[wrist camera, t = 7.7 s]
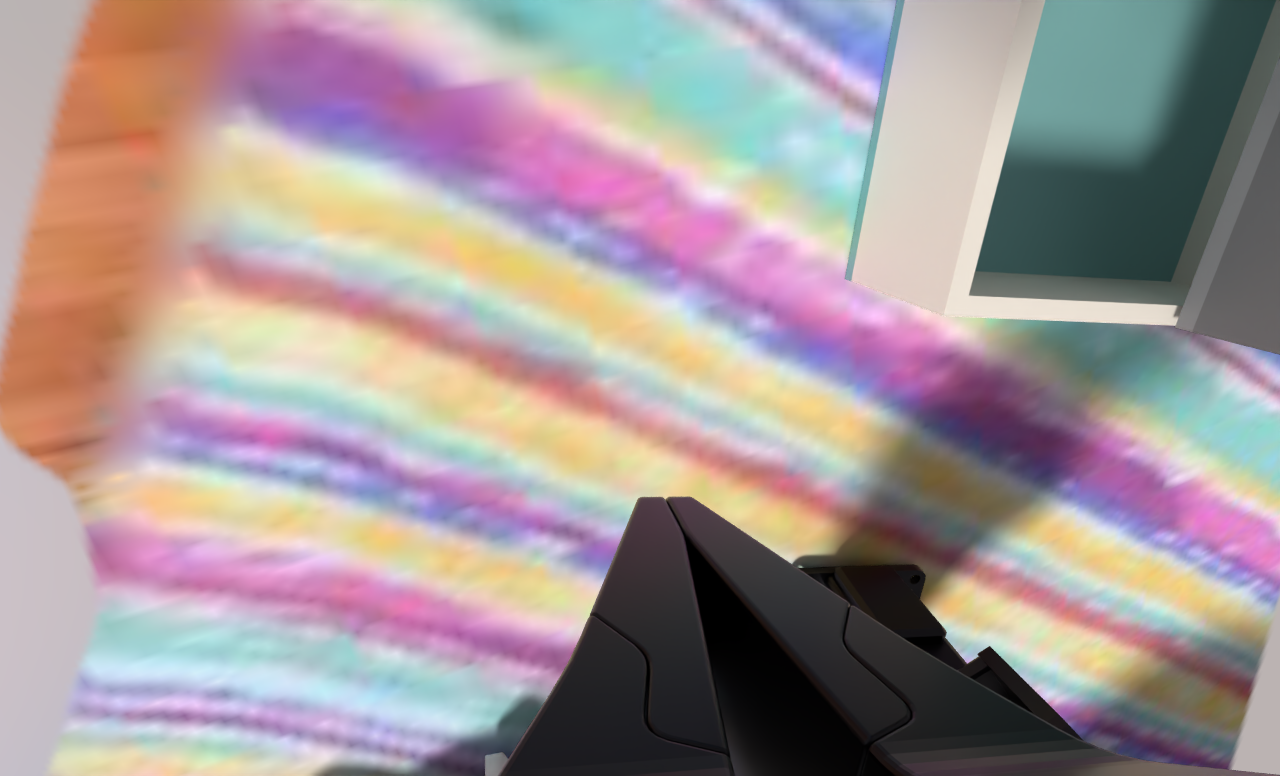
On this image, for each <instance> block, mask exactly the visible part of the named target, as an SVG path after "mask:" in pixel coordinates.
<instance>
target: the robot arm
mask: <svg viewBox="0 0 1280 776" xmlns="http://www.w3.org/2000/svg"><path fill="white" fill-rule="evenodd" d="M912 576H914V577H912ZM911 577H912V578H911ZM924 582H925V574H924V572H923V571H922V570H921V569H920V568H919V567H918V566H917V565H880V566H844V567H816V568H797V567H795V566H794V565H792V564H791V563H789V562H788V561H786V560H785V559H783V558H782V557H780V556H779V555H777V554H776V553H774V552H773V551H771V550H770V549H768V548H767V547H765V546H764V545H762V544H761V543H759V542H758V541H756V540H755V539H753V538H752V537H750V536H749V535H747V534H746V533H744V532H743V531H741V530H740V529H739V528H737V527H736V526H734V525H733V524H731V523H730V522H728V521H727V520H725V519H724V518H722V517H721V516H719V515H718V514H716V513H715V512H713V511H712V510H710V509H709V508H707V507H706V506H704V505H703V504H701V503H700V502H698V501H697V500H695V499H694V498H692V497H668V498H667V499H666V500H665V499H664V498H663V497H640V498H639V499H638V500H637V502H636V505H635V507H634V510H633V512H632V514H631V517H630V519H629V522H628V524H627V527H626V529H625V531H624V534H623V536H622V539H621V541H620V543H619V546H618V548H617V551H616V553H615V556H614V558H613V560H612V563H611V565H610V568H609V570H608V572H607V575H606V577H605V580H604V582H603V585H602V587H601V589H600V592H599V594H598V597H597V599H596V601H595V604H594V606H593V609H592V611H591V614H590V617H589V618H588V620H587V622H586V625H585V627H584V630H583V632H582V634H581V637H580V639H579V641H578V643H577V645H576V647H575V649H574V651H573V654H572V656H571V658H570V660H569V662H568V664H567V666H566V667H565V669H564V671H563V672H562V674H561V676H560V678H559V679H558V681H557V683H556V684H555V686H554V688H553V690H552V691H551V693H550V695H549V696H548V698H547V699H546V701H545V702H544V704H543V705H542V707H541V709H540V710H539V712H538V713H537V715H536V716H535V718H534V720H533V721H532V723H531V724H530V726H529V727H528V729H527V731H526V732H525V734H524V735H523V737H522V738H521V740H520V741H519V743H518V745H517V746H516V748H515V749H514V751H513V752H512V754H511V756H510V757H509V759H508V760H507V762H506V763H505V765H504V767H503V768H502V770H501V771H500V773H499V774H498V776H1280V775H1274V774H1265V773H1255V772H1246V771H1236V770H1227V769H1217V768H1208V767H1198V766H1188V765H1179V764H1169V763H1160V762H1152V761H1145V760H1140V759H1136V758H1131V757H1127V756H1123V755H1119V754H1116V753H1113V752H1110V751H1107V750H1104V749H1101V748H1098V747H1096V746H1094V745H1091V744H1089V743H1087V742H1084V741H1083V740H1082V739H1081V738H1080V736H1079V735H1078V734H1077V733H1076V732H1075V731H1074V730H1073V729H1072V728H1071V727H1070V726H1069V725H1068V724H1067V723H1066V722H1065V720H1064V719H1063V718H1062V717H1061V716H1060V715H1059V714H1058V713H1057V712H1056V711H1055V710H1054V709H1053V708H1052V707H1051V706H1050V705H1049V704H1048V703H1047V702H1046V701H1045V700H1044V699H1043V698H1042V697H1041V696H1040V695H1039V694H1038V693H1036V692H1035V691H1034V690H1033V689H1032V688H1031V687H1030V686H1029V685H1028V684H1027V683H1026V682H1025V681H1024V680H1023V679H1022V678H1021V677H1020V676H1019V675H1018V674H1017V673H1016V672H1015V671H1014V670H1013V669H1012V668H1011V667H1010V666H1009V665H1008V664H1007V663H1006V662H1005V661H1004V660H1003V659H1002V658H1001V657H1000V656H999V655H998V654H997V653H996V652H995V651H994V650H993V649H992V648H991V647H990V646H989V647H987V648H986V649H984V650H983V651H981V652H980V653H978V656H979V657H977V658H976V659H974V660H972V661H971V662H969V663H968V664H967V663H966V662H965V661H964V659H963V658H962V657H961V656H960V655H959V653H958V652H957V651H956V650H955V649H954V647H953V646H952V645H951V644H950V643H949V641H948V640H947V639H946V638H945V636H946V633H947V632H946V630H945V629H944V628H943V626H942V625H941V624H940V623H939V622H938V621H937V619H936V618H935V617H934V616H933V615H932V613H931V612H930V611H929V610H928V609H927V608H926V606H925V605H924V604H923V603H922V602H921V601H920V596H921V593H922V589H923V585H924Z"/></svg>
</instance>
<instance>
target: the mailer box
mask: <svg viewBox="0 0 1280 776" xmlns="http://www.w3.org/2000/svg"><path fill="white" fill-rule="evenodd" d="M1279 56H1280V0H897V2H896V7H895V13H894V18H893V24H892V29H891V34H890V40H889V45H888V50H887V56H886V61H885V66H884V72H883V77H882V83H881V88H880V93H879V99H878V104H877V109H876V115H875V120H874V126H873V131H872V136H871V142H870V147H869V152H868V158H867V163H866V168H865V174H864V179H863V185H862V190H861V195H860V201H859V206H858V211H857V217H856V222H855V227H854V233H853V238H852V244H851V249H850V254H849V260H848V265H847V270H846V276H845V279H846V280H849V281H852V282H854V283H857V284H860V285H862V286H865V287H867V288H870V289H873V290H875V291H878V292H881V293H883V294H886V295H889V296H891V297H894V298H897V299H899V300H902V301H905V302H907V303H910V304H913V305H915V306H918V307H920V308H923V309H926V310H928V311H931V312H934V313H936V314H939V315H942V316H952V317H976V318H1001V319H1025V320H1050V321H1074V322H1099V323H1123V324H1148V325H1172V326H1176V323H1177V321H1178V318H1179V315H1180V313H1181V310H1182V308H1183V305H1184V302H1185V300H1186V297H1187V295H1188V292H1189V290H1190V287H1191V284H1192V282H1193V279H1194V277H1195V274H1196V271H1197V269H1198V266H1199V264H1200V261H1201V258H1202V256H1203V253H1204V251H1205V248H1206V245H1207V243H1208V240H1209V238H1210V235H1211V233H1212V230H1213V227H1214V225H1215V222H1216V220H1217V217H1218V214H1219V212H1220V209H1221V207H1222V204H1223V201H1224V199H1225V196H1226V194H1227V191H1228V188H1229V186H1230V183H1231V181H1232V178H1233V176H1234V173H1235V170H1236V168H1237V165H1238V163H1239V160H1240V157H1241V155H1242V152H1243V150H1244V147H1245V144H1246V142H1247V139H1248V137H1249V134H1250V131H1251V129H1252V126H1253V124H1254V121H1255V119H1256V116H1257V113H1258V111H1259V108H1260V106H1261V103H1262V100H1263V98H1264V95H1265V93H1266V90H1267V87H1268V85H1269V82H1270V80H1271V77H1272V74H1273V72H1274V69H1275V67H1276V64H1277V62H1278V59H1279Z"/></svg>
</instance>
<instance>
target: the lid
mask: <svg viewBox="0 0 1280 776" xmlns="http://www.w3.org/2000/svg"><path fill="white" fill-rule="evenodd" d="M1175 328H1178V329H1182V330H1186V331H1190V332H1193V333H1197V334H1201V335H1205V336H1209V337H1213V338H1217V339H1221V340H1225V341H1229V342H1233V343H1237V344H1241V345H1244V346H1248V347H1252V348H1256V349H1260V350H1264V351H1268V352H1272V353H1276V354H1280V56H1279V59H1278V62H1277V64H1276V67H1275V69H1274V72H1273V74H1272V77H1271V80H1270V82H1269V85H1268V87H1267V90H1266V93H1265V95H1264V98H1263V100H1262V103H1261V106H1260V108H1259V111H1258V113H1257V116H1256V119H1255V121H1254V124H1253V126H1252V129H1251V131H1250V134H1249V137H1248V139H1247V142H1246V144H1245V147H1244V150H1243V152H1242V155H1241V157H1240V160H1239V163H1238V165H1237V168H1236V170H1235V173H1234V176H1233V178H1232V181H1231V183H1230V186H1229V188H1228V191H1227V194H1226V196H1225V199H1224V201H1223V204H1222V207H1221V209H1220V212H1219V214H1218V217H1217V220H1216V222H1215V225H1214V227H1213V230H1212V233H1211V235H1210V238H1209V240H1208V243H1207V245H1206V248H1205V251H1204V253H1203V256H1202V258H1201V261H1200V264H1199V266H1198V269H1197V271H1196V274H1195V277H1194V279H1193V282H1192V284H1191V287H1190V290H1189V292H1188V295H1187V297H1186V300H1185V302H1184V305H1183V308H1182V310H1181V313H1180V315H1179V318H1178V321H1177V323H1176V326H1175Z"/></svg>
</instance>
